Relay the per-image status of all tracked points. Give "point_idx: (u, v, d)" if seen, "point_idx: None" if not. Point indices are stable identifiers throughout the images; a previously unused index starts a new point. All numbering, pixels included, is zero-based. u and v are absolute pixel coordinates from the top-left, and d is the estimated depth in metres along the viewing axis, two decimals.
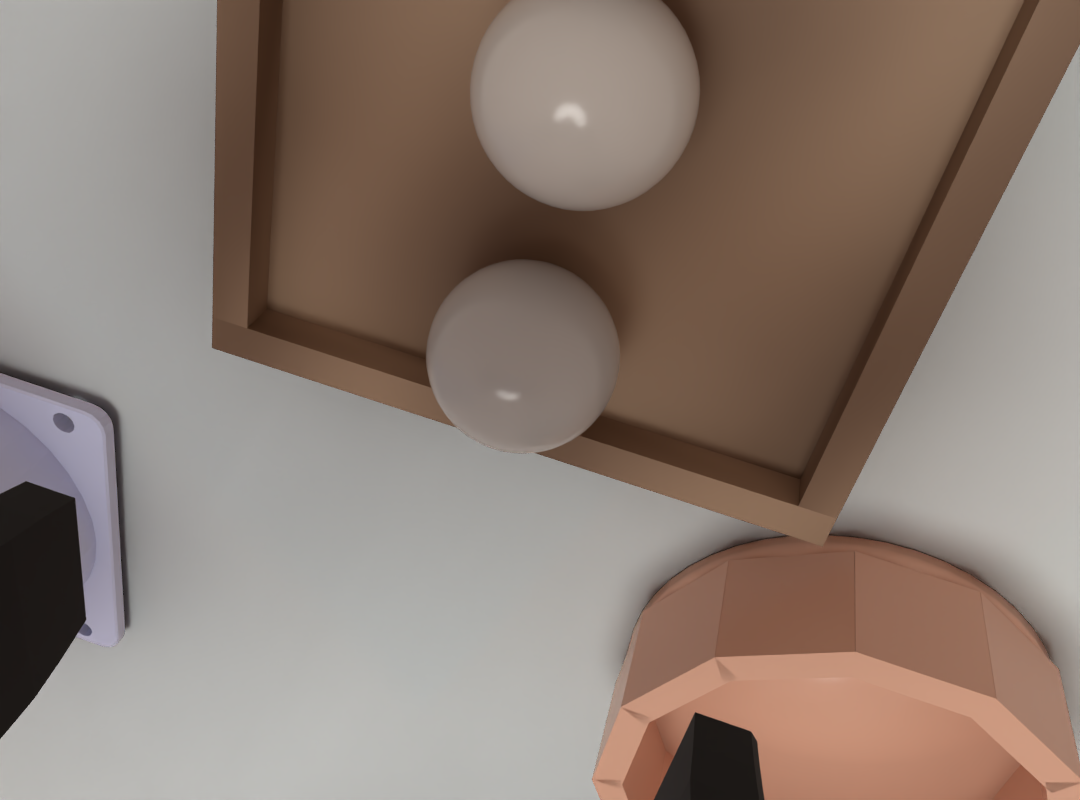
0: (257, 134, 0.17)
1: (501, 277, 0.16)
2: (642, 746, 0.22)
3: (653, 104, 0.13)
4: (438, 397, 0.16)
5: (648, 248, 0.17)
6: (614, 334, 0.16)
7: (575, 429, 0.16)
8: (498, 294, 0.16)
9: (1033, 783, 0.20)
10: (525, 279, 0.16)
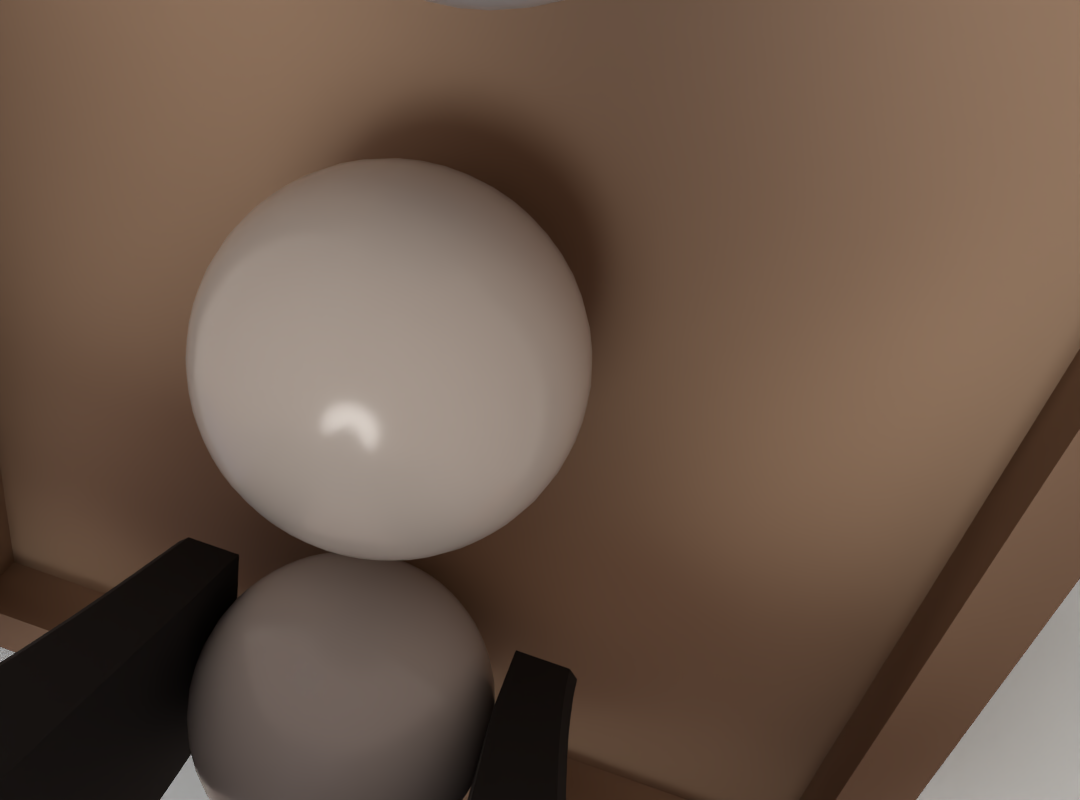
0: None
1: (292, 609, 0.10)
2: None
3: (487, 427, 0.07)
4: None
5: (541, 531, 0.11)
6: (480, 684, 0.10)
7: None
8: (282, 647, 0.10)
9: None
10: (328, 617, 0.10)
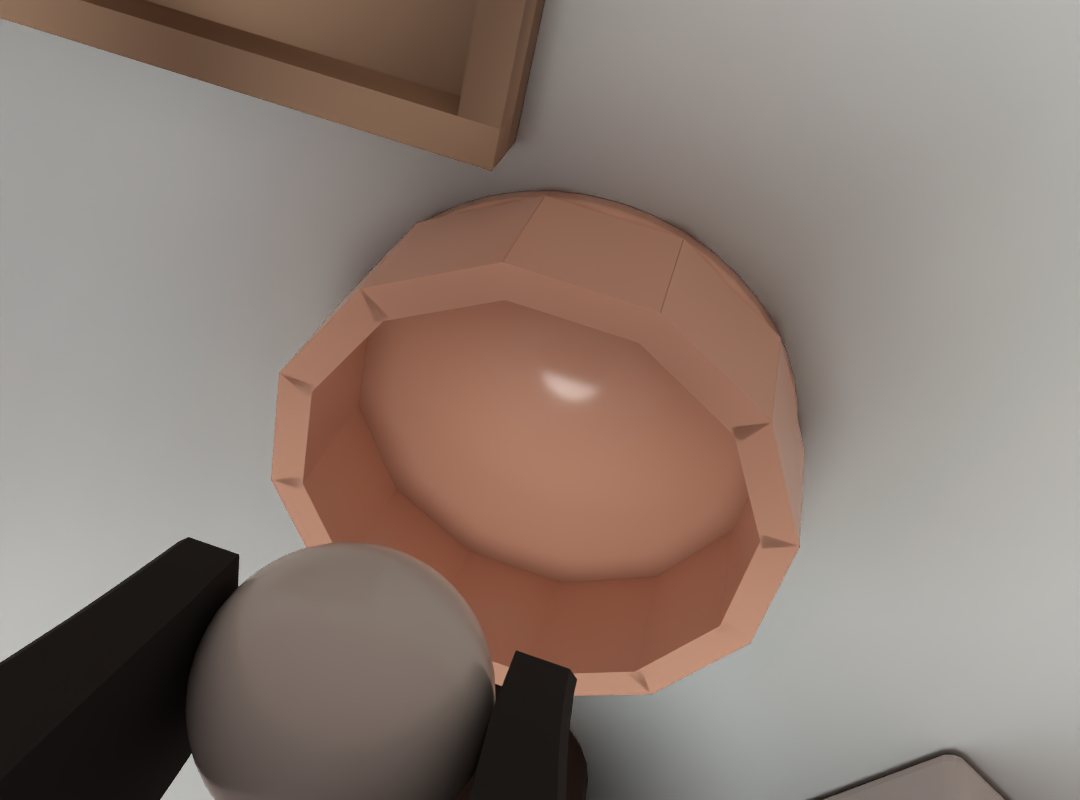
0: None
1: (290, 599, 0.10)
2: (348, 462, 0.20)
3: None
4: None
5: None
6: (479, 675, 0.10)
7: None
8: (278, 636, 0.10)
9: None
10: (325, 606, 0.10)
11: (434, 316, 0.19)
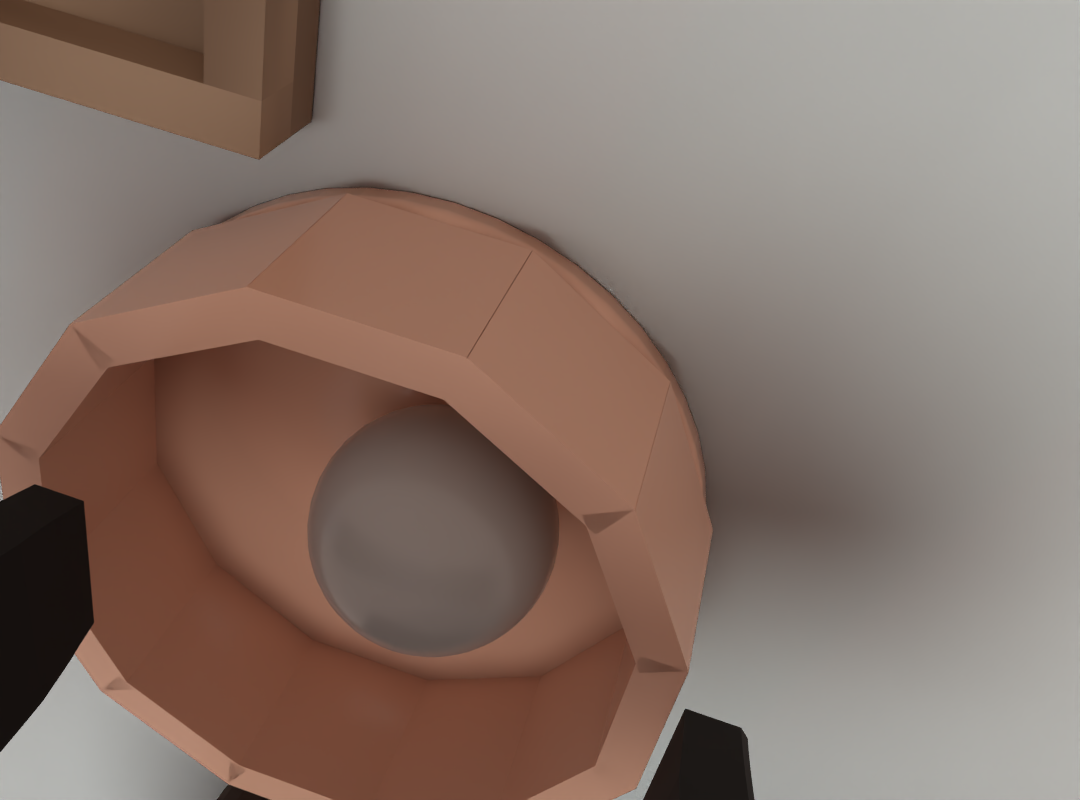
0: None
1: (397, 439, 0.12)
2: (136, 539, 0.15)
3: None
4: None
5: None
6: (549, 505, 0.13)
7: (499, 632, 0.12)
8: (391, 465, 0.12)
9: None
10: (427, 442, 0.12)
11: (232, 352, 0.14)
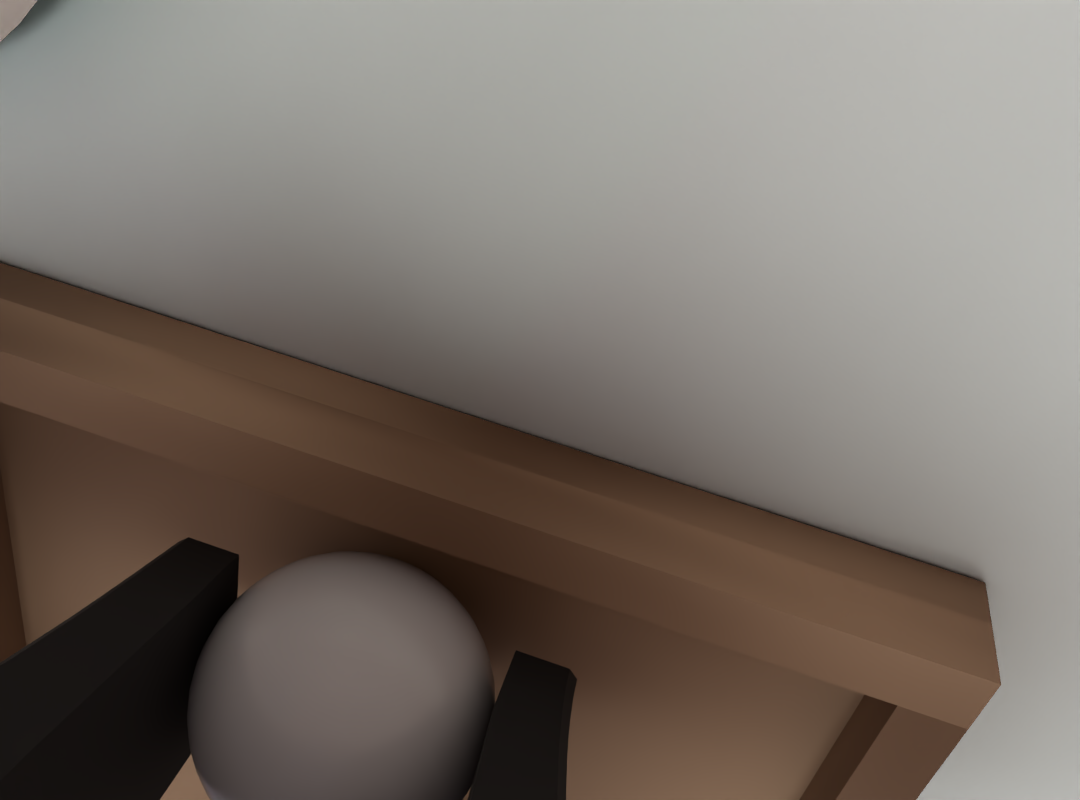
0: None
1: None
2: None
3: None
4: None
5: None
6: None
7: None
8: None
9: None
10: None
11: None
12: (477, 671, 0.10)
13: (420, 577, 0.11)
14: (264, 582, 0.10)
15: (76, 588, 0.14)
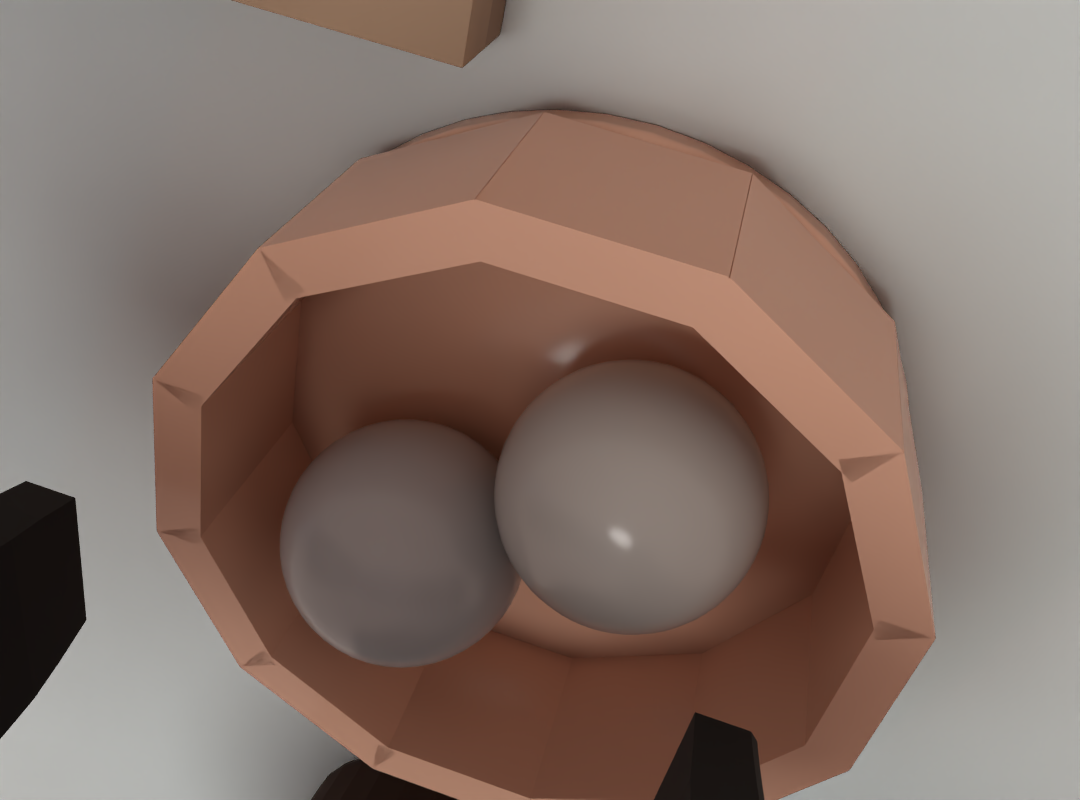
0: None
1: (602, 404, 0.11)
2: (275, 502, 0.14)
3: None
4: (515, 565, 0.12)
5: None
6: (763, 471, 0.11)
7: (711, 608, 0.11)
8: (601, 434, 0.11)
9: None
10: (637, 408, 0.11)
11: (390, 296, 0.13)
12: (464, 575, 0.12)
13: (459, 480, 0.12)
14: (356, 433, 0.13)
15: None
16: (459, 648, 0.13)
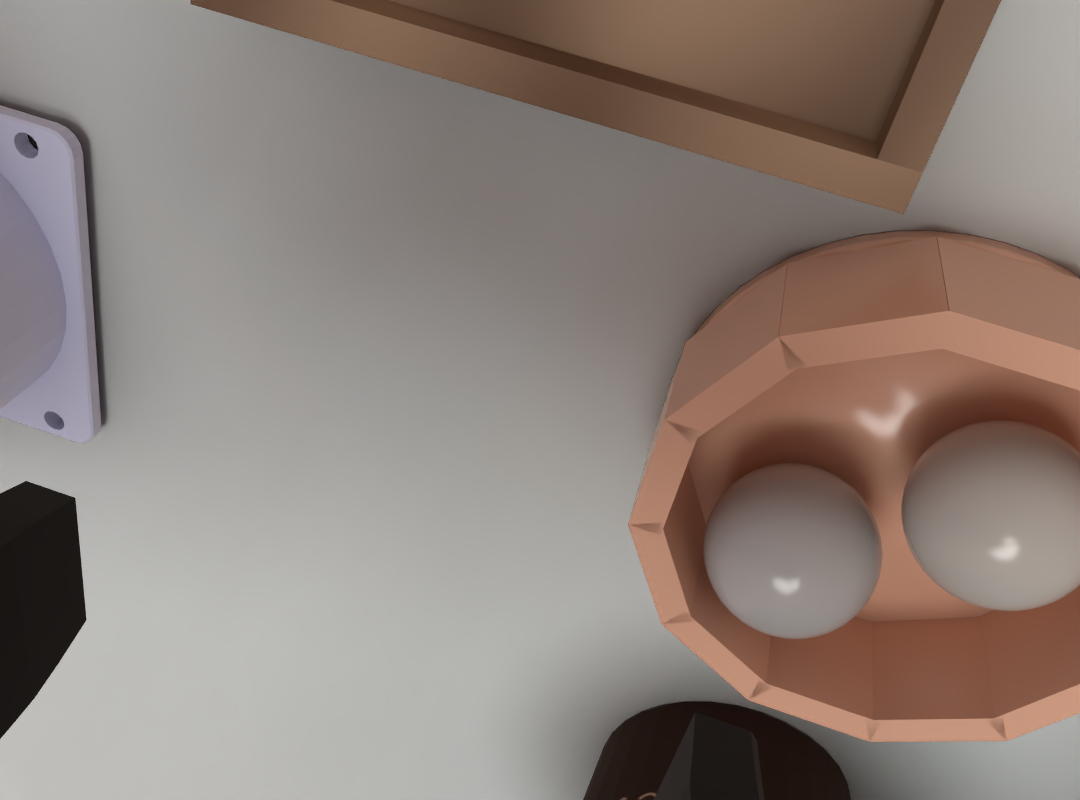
0: None
1: (1016, 470, 0.16)
2: (682, 504, 0.19)
3: None
4: (944, 579, 0.17)
5: None
6: None
7: None
8: (1025, 494, 0.16)
9: None
10: (1042, 471, 0.16)
11: None
12: (856, 591, 0.18)
13: (849, 526, 0.17)
14: (764, 485, 0.18)
15: None
16: (839, 626, 0.18)
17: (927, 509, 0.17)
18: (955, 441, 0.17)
